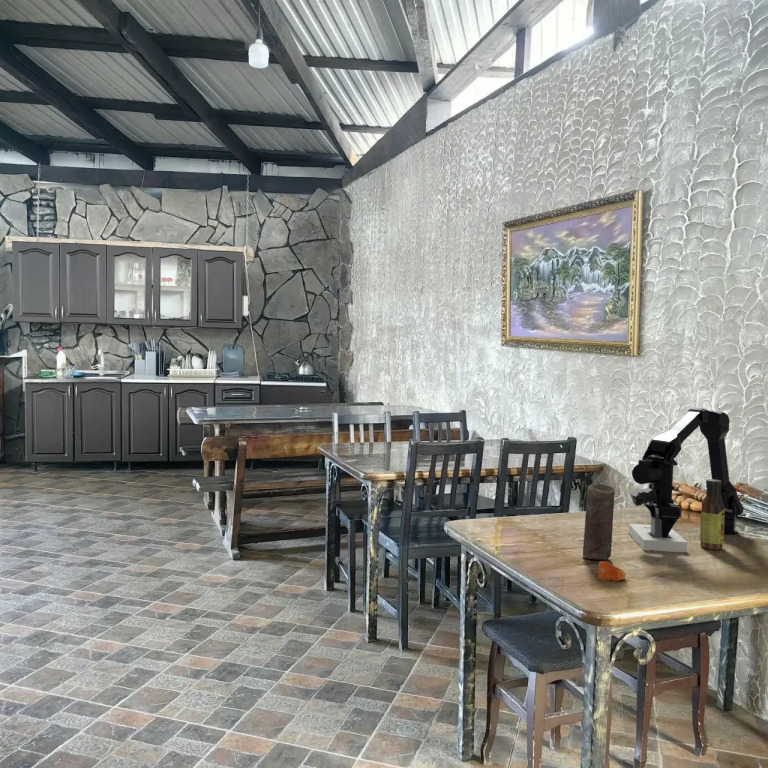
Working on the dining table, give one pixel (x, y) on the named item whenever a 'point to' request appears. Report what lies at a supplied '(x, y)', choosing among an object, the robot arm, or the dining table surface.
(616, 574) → the rock
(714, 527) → the sauce bottle
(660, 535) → the plug
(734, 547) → the dining table surface
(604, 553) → the candle
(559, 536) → the dining table surface
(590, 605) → the dining table surface
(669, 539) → the socket plate
